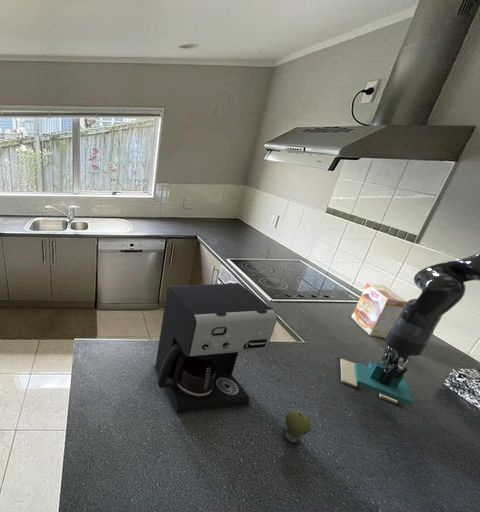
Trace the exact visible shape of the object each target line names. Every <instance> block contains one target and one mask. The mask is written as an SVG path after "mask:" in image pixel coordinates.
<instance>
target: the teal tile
mask: <svg viewBox="0 0 480 512" xmlns="http://www.w3.org/2000/svg"><path fill="white" fill-rule="evenodd" d="M354 363H355V365H354V368H355V377H356V384H357V386H359V387H363V388H365V389H367V390H370V391H373V392H375V393H378V394H379V393H380V394H382V395H385V396H387V397H390V398H392V399H395V400H397V401H398V402H400V403H402V404H405V405H408V406H410V407H411V406H412V405H413V403H414V400H413V397H412V394H411V391H410V389H409V385H408V383H407V380H406V379H403V378H404V376H405V375H404V374H405V373H404V374H403V375H402V376H400V377H399V378H398V379H396V378H393V379H392V381H391V383H390V384H389V385H386V384H383V383H381V382H380V381H379V379H380V377H381V376H382V374H383V372H384V370H385V368H386V365H384V364H382V362H378V361H375V362H371V361H369V363H368V365H364V364H361V363H360V362H359V363H358V362H354Z"/></svg>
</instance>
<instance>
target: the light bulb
mask: <svg viewBox="0 0 480 512" xmlns="http://www.w3.org/2000/svg"><path fill="white" fill-rule="evenodd" d="M285 425H286V434H285V438H286V440H288V441H289V442H291V443H297V440H298V439H299V438H301V436H304V435H307V434H308V433H309V432H310V431H311V428H312V423H311V421H310V418H309V417H308V416H307V415H306V414H305V413H304V412H302V411H299V410H294V409H293V410H290V411H287V413H286V415H285Z"/></svg>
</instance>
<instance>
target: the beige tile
mask: <svg viewBox="0 0 480 512" xmlns="http://www.w3.org/2000/svg"><path fill="white" fill-rule="evenodd" d="M339 362H340V381H341V383H342V384H345V385H348V386H350V387H352V388H355V389H357V388H358V385H357V384H356V377H355V368H354V365H355V363H356V362H352V361H350V360H347V359H344V358H340V361H339ZM378 394H379V398H380V399H382V400H384V401H388V402H390V403H393V404H395V405H397V404H398V403H399V401H397V400H395V399H392V398H390V397H387V396H385V395H382V394H380V393H378Z"/></svg>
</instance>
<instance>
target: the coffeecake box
mask: <svg viewBox="0 0 480 512" xmlns="http://www.w3.org/2000/svg"><path fill="white" fill-rule="evenodd" d="M407 302H408V300H405V299H404V298H403V297H402V296H400V295H398V294H397V293H396V292H394V291H393V290H391V289H390V288H388V287H387V286H385V285H381V284H375V283H371V282H370V283H368V282H367V283H366V284H365V286H364V289H363V291H362V293H361V295H360V297H359V300H358V302H357V304H356V306H355V308H354V311H353V312H352V315H351V319H352V320H353V321H354V322H355V323H356V324H357V325H358V326H359V327H360V328H361V329H362V330H363V331H364V332H366V334H368V335H369V336H371V337H378V338H383V339H385V338H386V336H387V334H388V333H389V331H390V329H391V327H392V325H393V323H394V322H395V320H396V319H397V318H398V316H399V315H400V313H401V311H402V309H403V307H404V306H405V304H406V303H407Z"/></svg>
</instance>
